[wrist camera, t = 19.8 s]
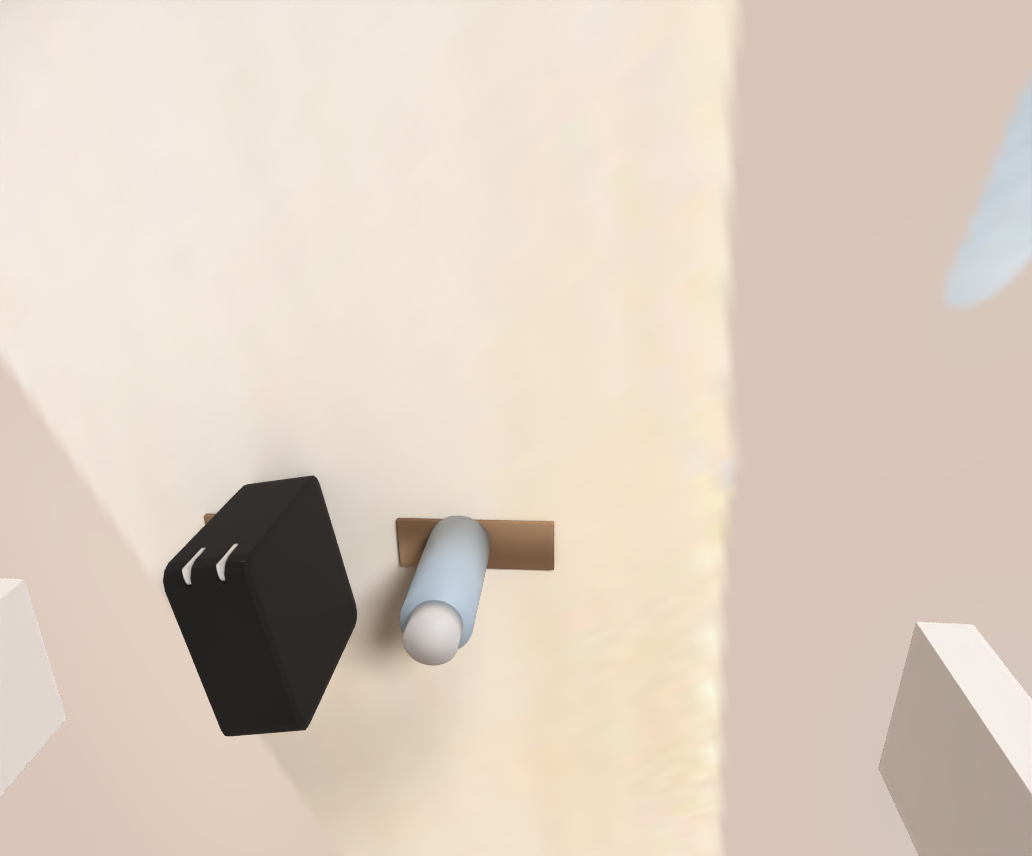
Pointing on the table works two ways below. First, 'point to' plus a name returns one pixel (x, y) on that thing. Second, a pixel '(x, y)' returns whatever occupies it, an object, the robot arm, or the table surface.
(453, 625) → the marker peg
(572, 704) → the table surface
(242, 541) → the electronic device
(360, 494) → the table surface
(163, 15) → the table surface
